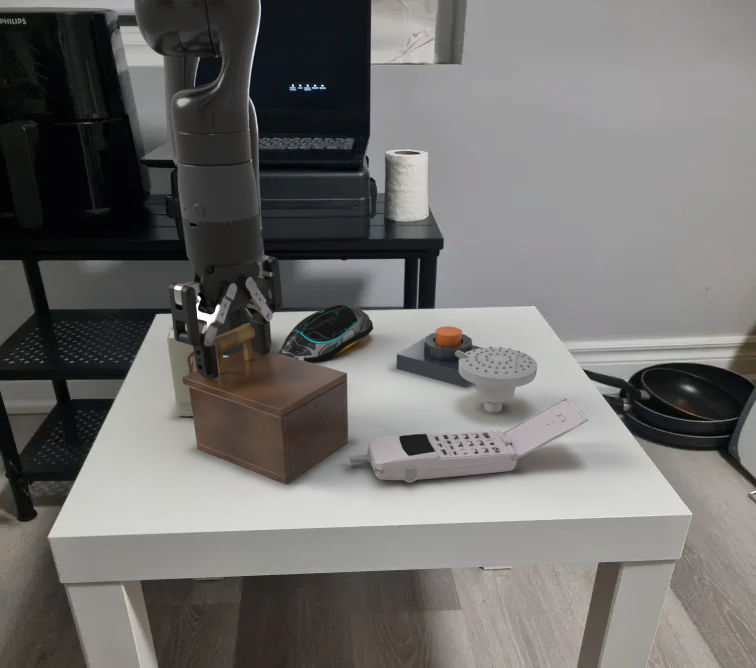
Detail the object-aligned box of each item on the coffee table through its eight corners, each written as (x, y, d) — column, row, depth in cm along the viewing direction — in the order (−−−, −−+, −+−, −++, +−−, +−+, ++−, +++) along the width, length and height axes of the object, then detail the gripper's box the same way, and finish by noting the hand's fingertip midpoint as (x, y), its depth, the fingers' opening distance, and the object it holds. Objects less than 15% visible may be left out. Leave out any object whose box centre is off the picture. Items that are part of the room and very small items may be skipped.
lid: (183, 384, 81) (176, 341, 78) (252, 352, 88) (248, 312, 86) (281, 417, 74) (278, 372, 72) (347, 379, 82) (346, 337, 79)
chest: (197, 449, 85) (188, 385, 80) (262, 413, 92) (257, 353, 88) (286, 484, 78) (281, 417, 74) (348, 442, 86) (347, 380, 82)
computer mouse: (261, 353, 108) (257, 314, 105) (352, 327, 117) (351, 291, 114) (295, 372, 103) (293, 332, 99) (388, 343, 112) (388, 305, 109)
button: (430, 344, 102) (430, 331, 101) (443, 336, 105) (444, 324, 104) (453, 349, 100) (453, 337, 99) (465, 341, 103) (466, 329, 102)
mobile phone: (592, 420, 78) (357, 438, 74) (583, 468, 82) (358, 489, 77) (569, 396, 83) (348, 412, 79) (561, 443, 87) (348, 461, 82)
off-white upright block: (213, 417, 91) (202, 338, 86) (176, 417, 91) (164, 338, 85) (219, 399, 95) (210, 323, 90) (185, 399, 95) (173, 323, 90)
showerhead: (459, 336, 94) (539, 343, 93) (455, 389, 98) (532, 396, 97) (450, 365, 87) (537, 373, 85) (446, 421, 91) (529, 429, 89)
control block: (396, 368, 104) (396, 341, 102) (429, 348, 110) (430, 322, 108) (465, 388, 99) (467, 359, 97) (496, 366, 105) (499, 338, 103)
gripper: (241, 193, 80) (254, 338, 89) (137, 218, 70) (163, 377, 79) (295, 202, 77) (303, 351, 86) (194, 229, 67) (214, 395, 76)
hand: (236, 364), depth 83 cm, fingers open, 8 cm apart
